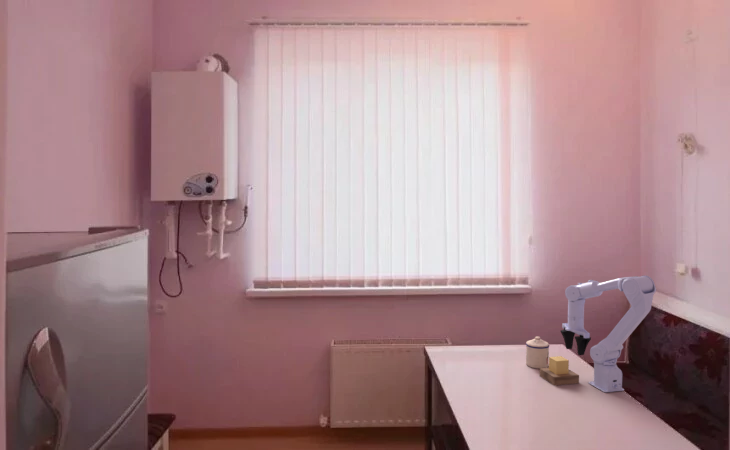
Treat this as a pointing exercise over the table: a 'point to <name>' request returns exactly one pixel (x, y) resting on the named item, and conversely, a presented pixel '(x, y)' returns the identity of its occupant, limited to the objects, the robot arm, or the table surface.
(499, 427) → the table surface
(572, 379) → the walnut base
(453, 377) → the table surface
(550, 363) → the ochre block
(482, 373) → the table surface
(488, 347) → the table surface
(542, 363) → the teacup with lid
